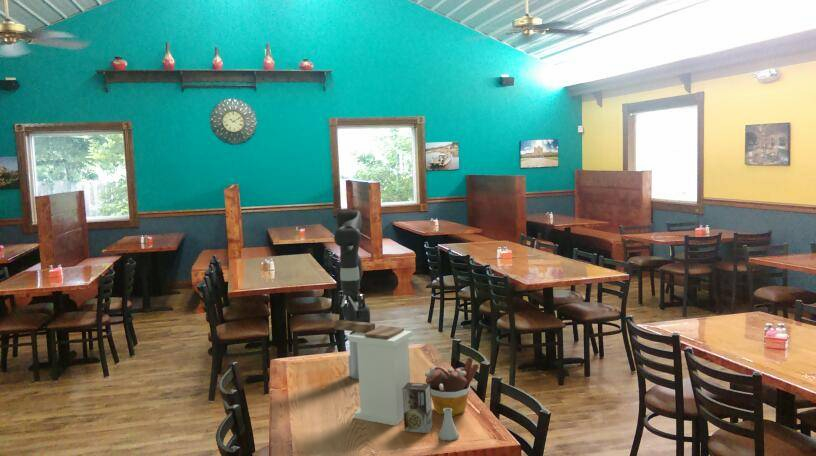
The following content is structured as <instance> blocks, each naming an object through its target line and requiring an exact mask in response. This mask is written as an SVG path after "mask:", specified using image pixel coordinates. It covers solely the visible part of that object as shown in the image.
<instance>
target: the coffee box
mask: <svg viewBox="0 0 816 456" xmlns="http://www.w3.org/2000/svg"><path fill="white" fill-rule="evenodd" d="M402 395H403V411H404V420H403V424H404V425H403V426H404V432H413V433H423V434H428V433H429V432H430V431H431V429H432V428H433V426H434V425H433V410H432V409H433V408H432V398H431V387H430V384H427V383H421V382H410V383H407V384H406V385H405V386H404V387H403V388H402Z"/></svg>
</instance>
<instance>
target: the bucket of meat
mask: <svg viewBox="0 0 816 456" xmlns="http://www.w3.org/2000/svg"><path fill="white" fill-rule="evenodd" d="M473 361H474V360H473V358H472V357H471V356H470V357H468V358H467V360H466V361H465V363H464V367H463V366H461V367H457V368H454V369H452V368H449V369H448V370H447V369H445V368H444V367H442V366H438V365H435V366H433V365H432V366H430V367H429V371H426V372H425V373H424V376H425V384H430V387H431V403H432V404H433V408H434V411H436V412H437V413H438V415H442V416H444V412H443V409H445V408H451V409H452V417H454V416H458V415H462V414H463V413H464V411H465V409H466V407H467V403H468V398H469V394H470V393H469V392H470V387H471V382H472V381H473V380H474V378H475V377H474V376H475V375H476V373H477V371H478V369H479V365H478V364H477V363H474V364H473Z"/></svg>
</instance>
